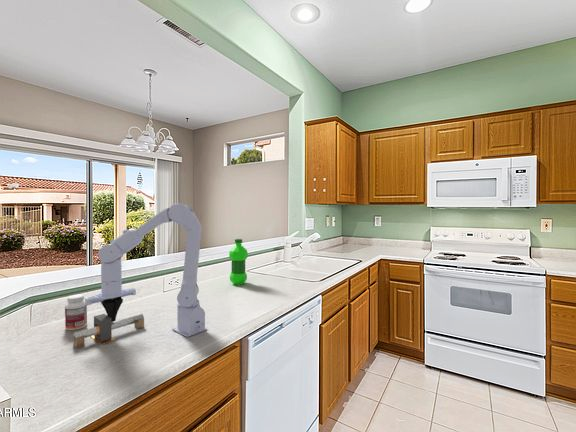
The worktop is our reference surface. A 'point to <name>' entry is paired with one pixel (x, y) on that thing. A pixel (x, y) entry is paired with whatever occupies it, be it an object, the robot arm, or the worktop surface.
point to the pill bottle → (75, 312)
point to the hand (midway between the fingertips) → (111, 321)
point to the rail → (136, 320)
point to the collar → (103, 327)
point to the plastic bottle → (238, 263)
